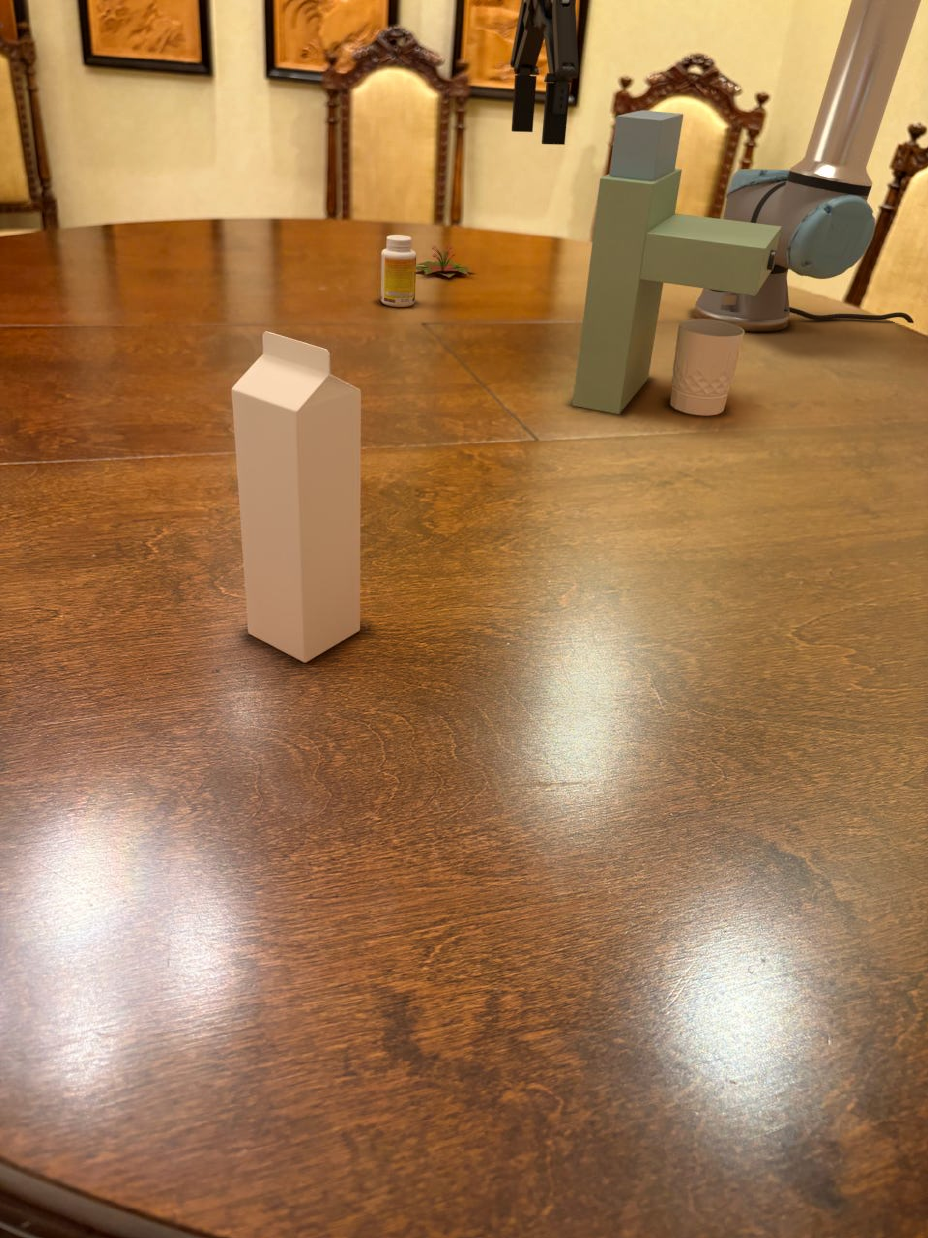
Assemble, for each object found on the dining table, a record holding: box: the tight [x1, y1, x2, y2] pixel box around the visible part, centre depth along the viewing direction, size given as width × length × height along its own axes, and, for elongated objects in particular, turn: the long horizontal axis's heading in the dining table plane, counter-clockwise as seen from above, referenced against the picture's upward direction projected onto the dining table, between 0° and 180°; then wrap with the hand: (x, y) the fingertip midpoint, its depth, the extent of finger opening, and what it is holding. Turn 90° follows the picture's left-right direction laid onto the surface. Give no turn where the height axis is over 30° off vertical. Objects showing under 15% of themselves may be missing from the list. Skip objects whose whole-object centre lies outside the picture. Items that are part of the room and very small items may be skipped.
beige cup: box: [669, 318, 746, 417], centre depth 120 cm, size 8×8×10 cm
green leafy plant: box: [416, 245, 476, 278], centre depth 177 cm, size 12×12×5 cm
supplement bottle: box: [380, 234, 417, 308], centre depth 155 cm, size 6×6×10 cm
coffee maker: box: [572, 109, 782, 415], centre depth 115 cm, size 20×16×32 cm
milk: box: [231, 331, 362, 663], centre depth 67 cm, size 6×6×22 cm
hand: (536, 137), depth 123 cm, fingers open, 13 cm apart
